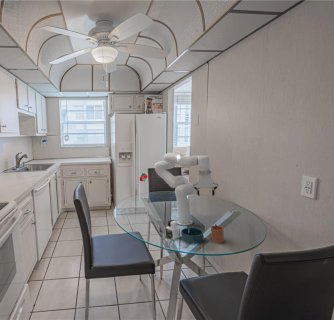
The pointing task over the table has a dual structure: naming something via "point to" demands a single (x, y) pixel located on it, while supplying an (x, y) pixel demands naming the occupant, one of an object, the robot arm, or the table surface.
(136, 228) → the table surface
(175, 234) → the medicine bottle
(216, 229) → the orange mug
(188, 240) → the dark teal bowl
